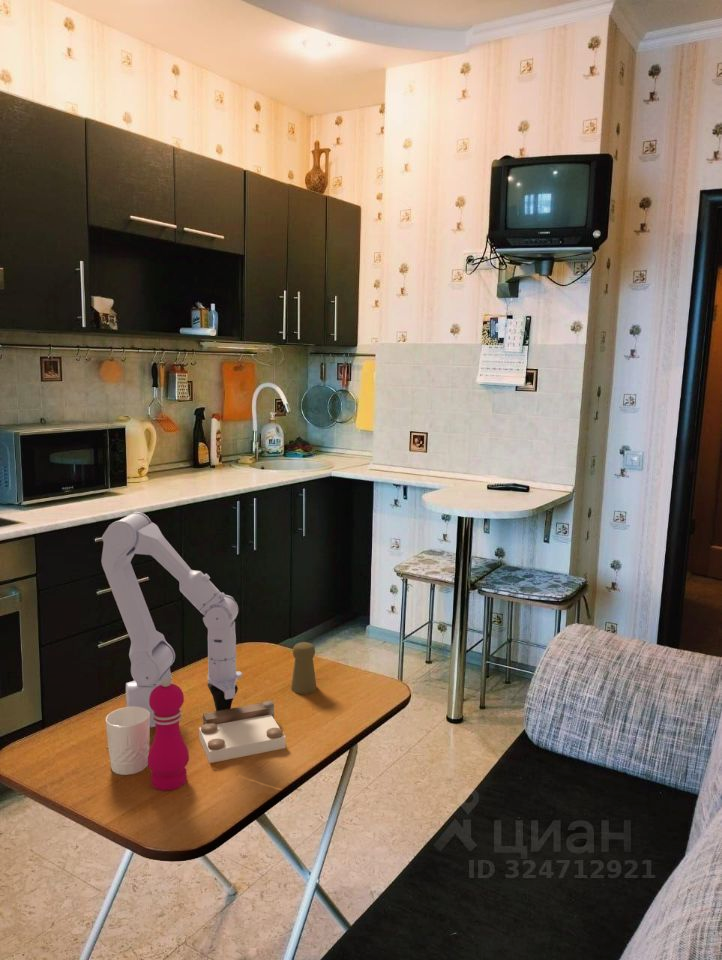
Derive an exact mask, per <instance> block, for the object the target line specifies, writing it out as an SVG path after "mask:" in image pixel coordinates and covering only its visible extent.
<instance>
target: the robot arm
mask: <svg viewBox="0 0 722 960" xmlns="http://www.w3.org/2000/svg"><path fill="white" fill-rule="evenodd" d="M101 540H102V542H103V546H102V553H101V560H100V561H101V566H102V569H103V571H104V573H105V577H106V579H107V582H108V585H109V587H110V589H111V592H112V595H113V598H114V600H115V602H116V605H117V608H118V610H119V613H120V615H121V618H122V622H123V623H124V626H125V628H126V631H127V634H128V636H129V639H130V647H129V653H128V656H129V657H128V658H129V660H130V674H131V677H132V678H133V680H132V681H129V682H126V683H125V701H126V702H125V703H126V704H125V705H126V706H125V707H142V708H145V709H147V710H148V711H149V712H150V728H151V729H152V728H156V725H155V723H154V722H153V715H152V714H153V710H152V709H151V707H150V705H149V697H150V694H151V692H152V691H153V689H154V688H156V687H157V686H159V685H161V680H162V678H164V677H169V678H170V679H171V684H173V681H172V679H173V678H172V673H171V666H172V665H173V663H174V662H175V659H176V653H175V650H174V648H173V647H172V645H170V644H169V643H168V642H167V640H166V638H165V634H163V633H162V632H159V631H158V630H156V627H155V623H154V621H153V618H152V616H151V613H150V611H149V607H148V605H147V603H146V600H145V597H144V595H143V592H142V590H141V587H140V584H139V581H138V579H137V576H136V574H135V573H136V572H135V570H134V568H133V565H132V563H131V562H132V559H133V558H134V556H135V555H145V556H151V557H152V558H153V559H155V560H156V561H157V562H158V563H159V564H160V565H161V566H162V567H163V568H164V569H165V570H166V571H167V572H168V573H170V574H171V576H173V578H175V579H176V580H177V581H178V583H179V591H180V593H181V594H182V595H183V596H184V597H185V598H186V599H187V600H188V601H189V602H190V603H191V604H192V605H193V606H194V607H195V608H196V609H197V610H198V611H199V612H200V614H202V615H203V617H202V622H203V623H204V625H205V627H206V629H207V670H208V672H207V673H208V674H207V677H206V678H207V682H208V683H207V687H208V689H209V691H210V693H211V696H212V700H213V703H214V708H215V711H220V710H225V709H231V708H232V704H233V700H234V699H236V694H237V693H238V690H239V688H238V686H237V684H236V683H237V681H238V680H237V679H241V678H242V677H243V674H242V673H243V672H241V671H239V670H237V637H236V635H237V634H236V621H235V620H236V619H237V616H238V614H239V606H238V603H237V601H235V598H234V597H233V596H231V595H228V594H225V592H223V591H222V592H221V591H220V590H219V589H218V588H217V587H216V586H215V584H214V583H213V582H212V581H211V580H210V579H211V577H210V575H209V574H208V573H203V572H202V570H194V569H191V567H190V566H189V565H188V564H187V562H186V561H185V560H184V559H183V558H182V556H180V554H179V553H178V552H177V551H176V550H175V548H174V547H173V546H172V544H170V543H169V541H168V540H167V539H166V538H165V536H164V535H163V533H162V531H161V530H160V528H159V526H158V525H157V524H156V523H154V522H152V520H151V519H150V518H149V516H148V515H146V514H145V513H143V512H138V511H135V512H131V513H129V514H127V516H125V517H123V518H121V519H119V520H116V521H114V522H112V523H110V524H109V525H108V527H107V528H106V529H105V531H104V532H103V534H102V536H101Z"/></svg>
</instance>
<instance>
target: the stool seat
mask: <svg viewBox="0 0 722 960" xmlns="http://www.w3.org/2000/svg"><path fill="white" fill-rule="evenodd" d="M198 732H199V733H198V737H199V741H200V743H201V745H202V747H203V750H204V753H205V755H206V757H207V760H208V763H209V764H212V763H216V762H222V761H227V760H231V759H239V758H242V757H246V756H251V755H257V754H262V753H267V752H272V751H278V750H283V749H286V745H287V744H286V735H285V734H284V730H283V729H282V728H280V725H279V724H278V723H277V721H276V719H275V717H274V718H273V717H272V715H265V716H260V717H254V718H249V719H243V720H238V721H232V722H227V723H221V724H214V723H207V724H204V725H203V724H202V725H201V726H200V727H198Z"/></svg>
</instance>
